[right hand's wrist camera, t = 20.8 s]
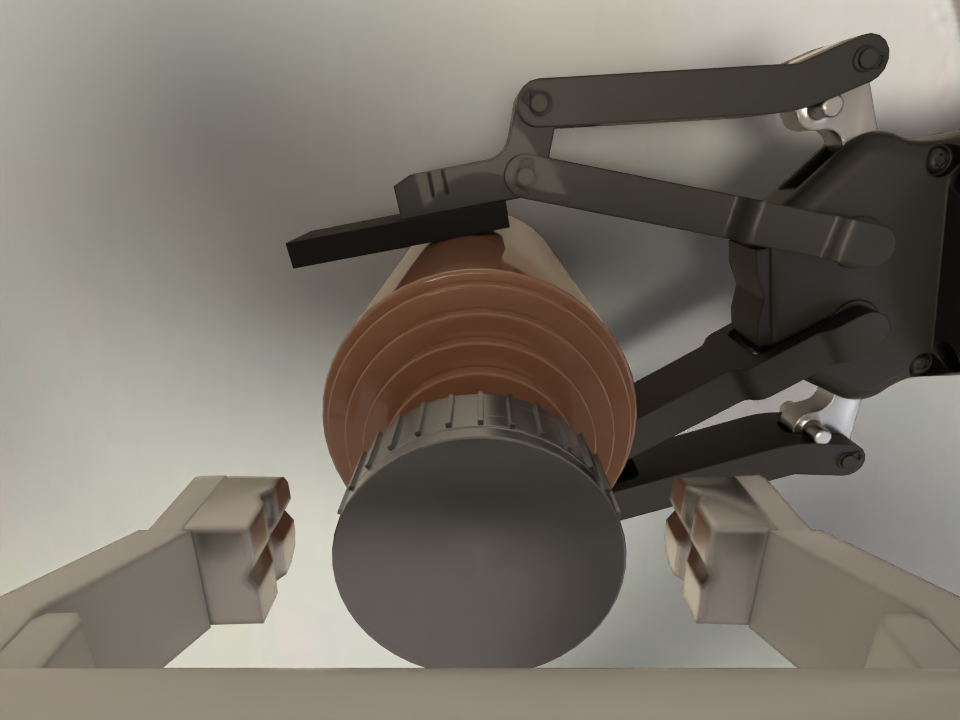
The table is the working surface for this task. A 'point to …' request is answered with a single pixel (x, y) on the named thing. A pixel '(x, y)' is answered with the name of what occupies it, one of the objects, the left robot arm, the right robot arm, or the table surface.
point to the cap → (479, 536)
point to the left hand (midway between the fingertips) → (337, 364)
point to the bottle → (480, 346)
